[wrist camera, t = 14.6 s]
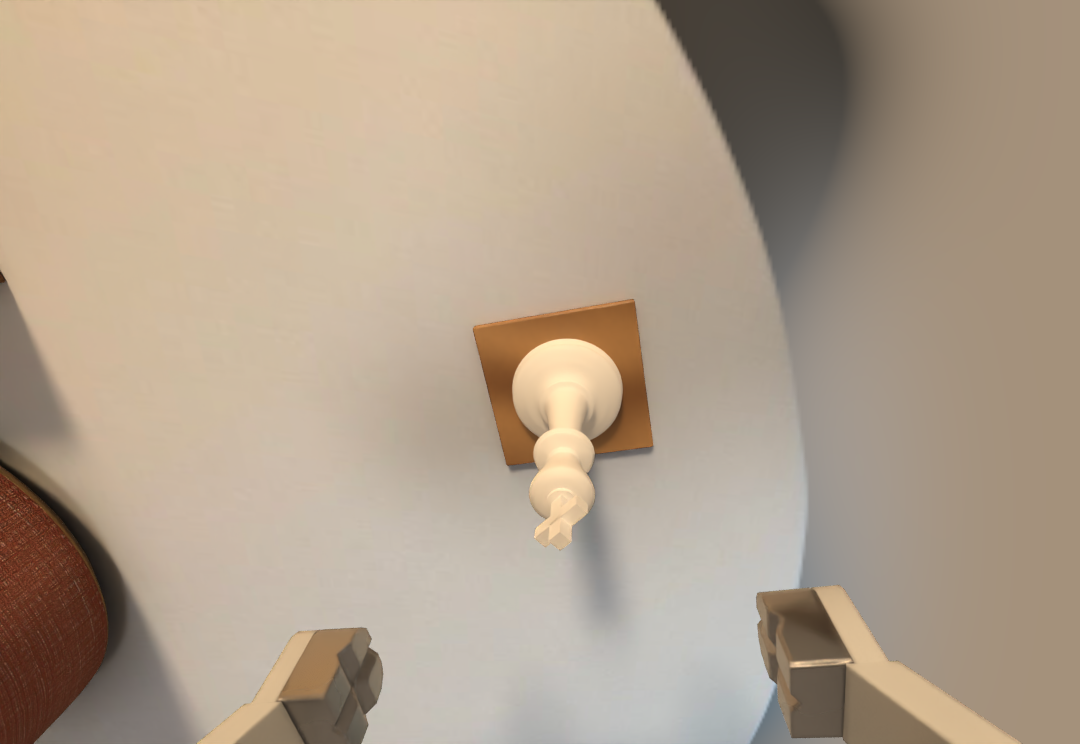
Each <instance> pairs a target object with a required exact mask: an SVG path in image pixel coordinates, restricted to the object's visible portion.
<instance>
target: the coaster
mask: <svg viewBox="0 0 1080 744" xmlns="http://www.w3.org/2000/svg"><path fill="white" fill-rule="evenodd" d="M473 332H474V336H475V340H476V344H477V348H478V352H479V356H480V360H481V364H482V368H483V372H484V376H485V380H486V384H487V388H488V392H489V396H490V400H491V404H492V408H493V412H494V416H495V420H496V424H497V428H498V432H499V436H500V440H501V444H502V448H503V452H504V456H505V460H506V464H507V466H509V465H516V464H524V463H532V462H535V461H534V457H533V451H534V446H535V444H536V442H537V440H538V439H539V438H540V437H538V436H536V435H535V434H534V433H532V432H531V431H530V430H529V429H528V428H527V427H526V426H525V425H524V424H523V423H522V421H521V420H520V418H519V417H518V415H517V413H516V410H515V407H514V403H513V394H512V384H513V378H514V374H515V372H516V369H517V367H518V365H519V364H520V362H521V361H522V359H523V358H524V357H525V356H526V355H527V354H528V353H529V352H530V351H531V350H533V349H534V348H536V347H537V346H539V345H541V344H543V343H546V342H549V341H552V340H557V339H577V340H582V341H585V342H588V343H591V344H593V345H595V346H597V347H598V348H600V349H601V350H603V351H604V352H605V353H606V354H607V355H608V356H609V357H610V358H611V359H612V360H613V362H614V363H615V365H616V366H617V368H618V370H619V373H620V375H621V379H622V385H623V395H622V402H621V406H620V410H619V412H618V415H617V417H616V419H615V420H614V422H613V423H612V424H611V426H610V427H609V428H608V429H607V430H606V431H605V432H603V433H602V434H601V435H599V436H597V437H596V438H594V439H592V440H590V441H591V443H592V445H593V447H594V451H595V454H600V453H607V452H615V451H622V450H630V449H638V448H645V447H652V446H653V440H652V432H651V424H650V417H649V409H648V401H647V393H646V386H645V378H644V370H643V362H642V355H641V347H640V339H639V331H638V324H637V316H636V308H635V301H634V299H631V300H625V301H619V302H613V303H607V304H601V305H596V306H590V307H584V308H578V309H572V310H566V311H560V312H555V313H549V314H543V315H537V316H531V317H525V318H519V319H513V320H508V321H502V322H496V323H490V324H484V325H478V326H474V328H473Z"/></svg>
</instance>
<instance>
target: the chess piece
mask: <svg viewBox="0 0 1080 744" xmlns="http://www.w3.org/2000/svg"><path fill="white" fill-rule="evenodd" d="M512 394H513V403H514V407H515V410H516V413H517V415H518V417H519V418H520V420H521V421H522V423H523V424H524V425H525V426H526V427H527V428H528V429H529V430H530V431H531V432H532V433H534V434H535V435H536V436H538V437H540V438H539V439H538V440H537V442H536V444H535V446H534V451H533V457H534V461H535V464H536V466H537V468H538V470H539V472H538V473H537V475H536V476H535V477H534V479H533V481H532V483H531V485H530V490H529V498H530V502H531V504H532V507H533V508H534V510H535V511H536V512H537V513H538V514H539V515H540V516H542V517H543V518H545V519H546V520H545V521H544V522H543V523H542V524H540V525H539V526H538V527H537V528H536V529H535V537H534V539H536V540H537V541H538V542H539V543H541V544H542V545H543V546H544V547H547V546H548V545H549V544H550V543H551V544H553V545H554V546H555V547H556V548H557V549H559V550H561V549H563V548H564V547H565V546H567V545H568V544H569V543H570V542H571V535H572V526H573V525H574V524H575V523H577V522H578V521H579V520H580V519H582V518H583V517H584V516H585V515H587V514H588V512H589V511H590V510H591V508H592V506H593V504H594V501H595V490H594V486H593V484H592V482H591V480H590V478H589V476H588V475H587V473H588V472H589V470H590V469H591V467H592V465H593V463H594V458H595V451H594V447H593V445H592V443H591V441H590V440H592V439H594V438H596V437H597V436H599V435H601V434H602V433H603V432H605V431H606V430H607V429H608V428H609V427H610V426H611V424H612V423H613V422H614V420H615V419H616V417H617V415H618V412H619V410H620V406H621V402H622V395H623V385H622V379H621V375H620V373H619V370H618V368H617V366H616V365H615V363H614V362H613V360H612V359H611V358H610V357H609V356H608V355H607V354H606V353H605V352H604V351H603V350H601V349H600V348H598V347H597V346H595V345H593V344H591V343H588V342H585V341H582V340H577V339H557V340H552V341H549V342H546V343H543V344H541V345H539V346H537V347H536V348H534V349H533V350H531V351H530V352H529V353H528V354H527V355H526V356H525V357H524V358H523V359H522V361H521V362H520V364H519V365H518V367H517V369H516V372H515V374H514V378H513V384H512Z"/></svg>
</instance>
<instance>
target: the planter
mask: <svg viewBox="0 0 1080 744" xmlns="http://www.w3.org/2000/svg"><path fill="white" fill-rule="evenodd" d="M107 642H108V617H107V610H106V605H105V601H104V598H103V594H102V591H101V588H100V586H99V583H98V580H97V578H96V575H95V573H94V570H93V568H92V566H91V563H90V561H89V559H88V557H87V556H86V554H85V552H84V551H83V549H82V548H81V546H80V545H79V543H78V542H77V540H76V539H75V537H74V536H73V535H72V533H71V532H70V531H69V529H68V528H67V527H66V525H65V524H64V523H63V521H62V520H61V519H60V518H59V517H58V515H57V514H56V513H55V512H54V511H53V510H52V509H51V508H50V507H49V506H48V505H47V504H46V503H45V502H44V501H43V500H42V499H41V498H39V497H38V496H37V495H36V494H35V493H34V492H33V491H32V490H30V489H29V488H28V487H27V486H26V485H25V484H23V483H22V482H21V481H20V480H19V479H17V478H16V477H15V476H14V475H12V474H11V473H10V472H8V471H7V470H6V469H4V468H3V467H1V466H0V744H33V743H34V742H35V741H36V740H37V739H38V738H39V737H40V736H41V735H42V734H43V733H44V732H45V731H46V730H47V729H48V728H49V727H50V726H51V724H52V723H53V722H54V721H55V720H56V719H57V718H58V717H59V716H60V715H61V714H62V713H63V712H64V711H65V710H66V709H67V707H68V706H69V705H70V704H71V703H72V702H73V701H74V700H75V699H76V698H77V696H78V695H79V694H80V693H81V692H82V690H83V689H84V688H85V687H86V685H87V684H88V683H89V681H90V680H91V679H92V678H93V676H94V675H95V673H96V672H97V670H98V669H99V667H100V665H101V663H102V661H103V658H104V656H105V652H106V648H107Z"/></svg>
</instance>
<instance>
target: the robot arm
mask: <svg viewBox="0 0 1080 744" xmlns="http://www.w3.org/2000/svg"><path fill="white" fill-rule="evenodd" d="M756 606H757V610H758V612H759V615H760V618H761V621H760V622H759V623H758V624H757V626H758V638H759V643H760V649H761V654H762V657H763V660H764V664H765V667H766V670H767V672H768V675H769V678H770V679H771V680H773V681H774V682H775V683H776V684H777V691H778V702H779V705H780V708H781V711H782V713H783V716H784V719H785V721H786V724H787V727H788V729H789V732H790V735H791V737H792V738H820V737H843V740H844V741H845V742H846V743H847V744H1022V743H1020V742H1019V741H1017V740H1016V739H1014V738H1013V737H1011V736H1010V735H1008V734H1007V733H1005V732H1004V731H1002V730H1001V729H1000V728H998V727H997V726H995V725H994V724H992V723H990V722H989V721H987V720H986V719H985V718H983V717H982V716H980V715H979V714H977V713H976V712H974V711H973V710H971V709H970V708H968V707H967V706H965V705H964V704H962V703H961V702H959V701H958V700H956V699H955V698H953V697H952V696H950V695H949V694H947V693H946V692H944V691H942V690H941V689H940V688H938V687H937V686H935V685H934V684H932V683H931V682H929V681H928V680H926V679H925V678H923V677H922V676H920V675H919V674H917V673H915V672H914V671H913V670H911V669H909V668H908V667H907V666H905V665H904V664H902V663H901V662H899V661H889V660H888V658H887V657H886V655H885V654H884V652H883V650H882V649H881V647H880V646H879V644H878V642H877V641H876V639H875V638H874V636H873V634H872V633H871V631H870V630H869V628H868V626H867V625H866V623H865V622H864V620H863V618H862V617H861V615H860V613H859V612H858V611H857V609H856V607H855V606H854V604H853V602H852V601H851V599H850V598H849V596H848V594H847V593H846V591H845V590H844V588H842V587H841V586H839V585H833V586H823V587H812V588H799V589H789V590H779V591H769V592H759V593H757V596H756ZM371 640H372V638H371V636H370V634H369V632H368V630H367V628H343V629H325V630H314V631H299V632H297V633H296V634H295V635H293V636H292V637H291V638H290V640H289V642H288V643H287V645H286V647H285V648H284V650H283V652H282V653H281V655H280V657H279V658H278V660H277V661H276V663H275V665H274V666H273V668H272V670H271V671H270V673H269V675H268V676H267V678H266V680H265V681H264V683H263V685H262V686H261V688H260V689H259V691H258V693H257V694H256V696H255V698H254V699H253V701H252V703H251V704H244V705H243V706H241V707H240V708H239V709H238V710H237V711H235V712H234V713H233V714H232V715H231V716H229V717H228V718H227V719H226V720H224V721H223V722H222V723H221V724H220V725H218V726H217V727H216V728H215V729H214V730H212V731H211V732H210V733H209V734H208V735H206V736H205V737H204V738H203V739H201V740H200V741H199V742H198V743H197V744H361V743H362V741H363V738H364V735H365V733H366V730H367V727H368V721H367V718H366V713H367V712H368V711H369V710H370V709H371V708H372V707H373V706H374V705H375V704H376V703H377V700H378V698H379V695H380V692H381V689H382V680H383V668H382V662H381V659H380V657H379V655H378V654H377V653H376V652H375V651H373V650H372V649H370V648H369V645H370V642H371Z"/></svg>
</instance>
